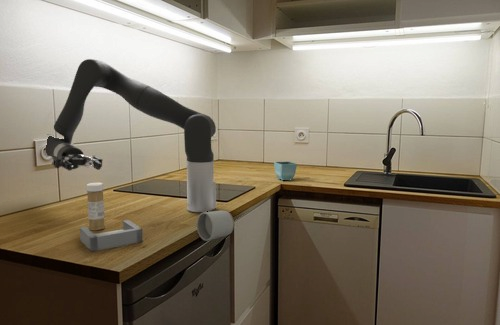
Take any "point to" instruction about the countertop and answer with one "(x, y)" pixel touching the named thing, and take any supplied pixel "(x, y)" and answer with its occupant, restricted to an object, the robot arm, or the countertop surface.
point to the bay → (111, 237)
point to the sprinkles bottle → (95, 206)
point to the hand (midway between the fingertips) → (85, 166)
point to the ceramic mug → (214, 224)
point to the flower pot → (285, 170)
